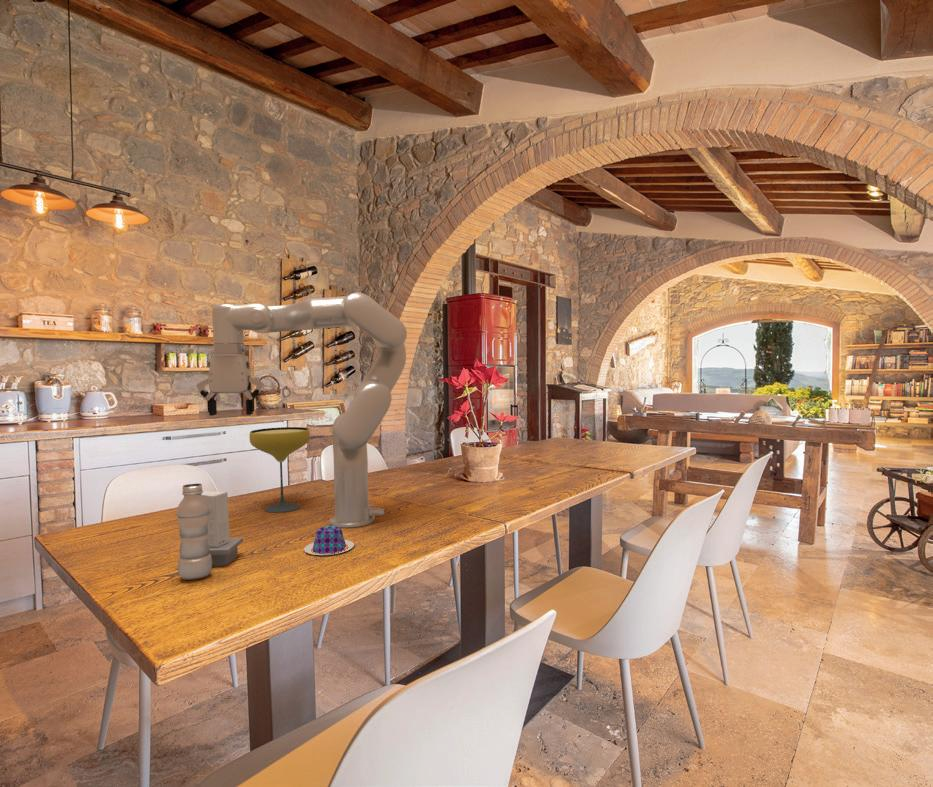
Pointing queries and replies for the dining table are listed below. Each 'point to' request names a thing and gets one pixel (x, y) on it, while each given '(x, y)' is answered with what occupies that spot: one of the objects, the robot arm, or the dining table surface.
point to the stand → (225, 552)
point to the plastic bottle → (194, 534)
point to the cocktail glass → (280, 452)
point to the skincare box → (218, 518)
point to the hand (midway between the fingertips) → (231, 414)
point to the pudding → (328, 541)
